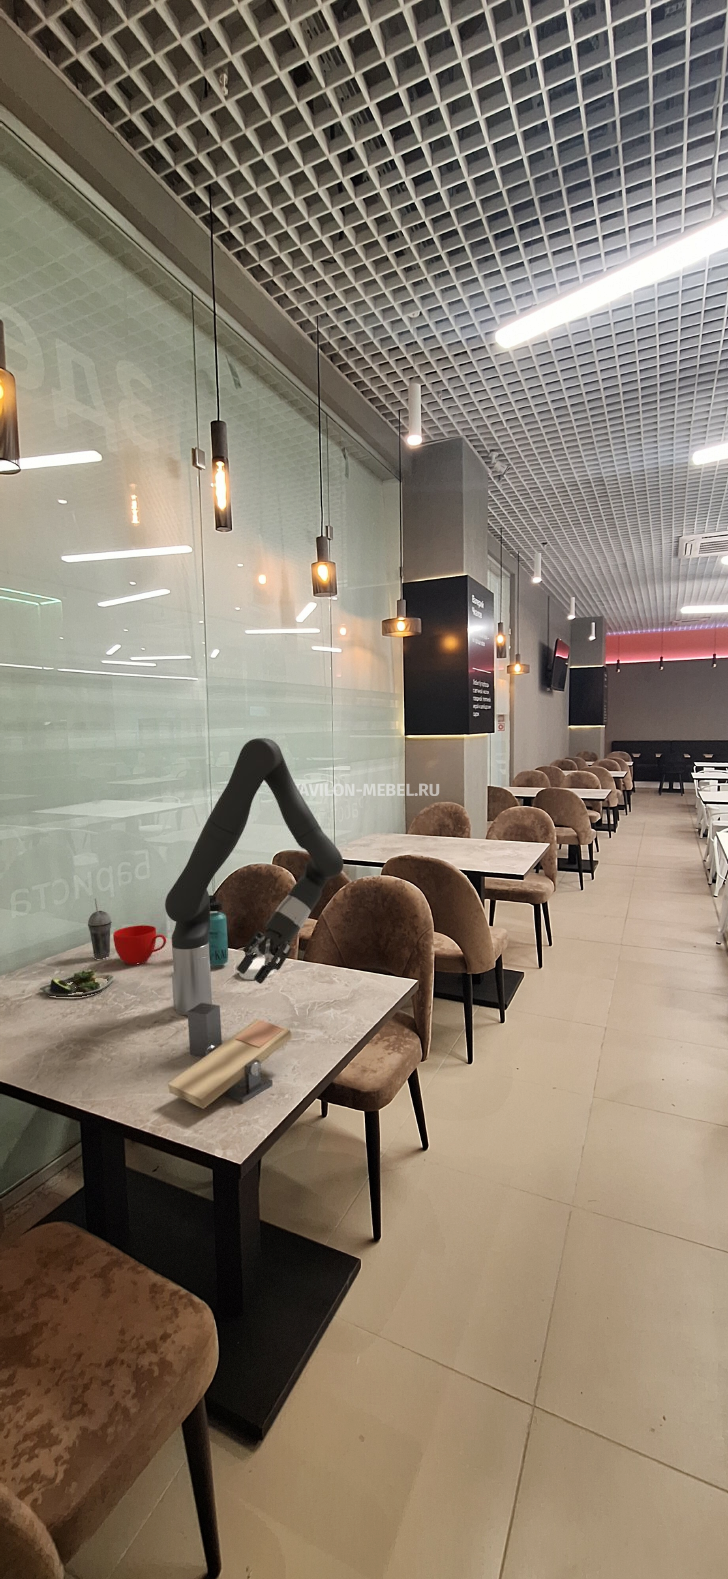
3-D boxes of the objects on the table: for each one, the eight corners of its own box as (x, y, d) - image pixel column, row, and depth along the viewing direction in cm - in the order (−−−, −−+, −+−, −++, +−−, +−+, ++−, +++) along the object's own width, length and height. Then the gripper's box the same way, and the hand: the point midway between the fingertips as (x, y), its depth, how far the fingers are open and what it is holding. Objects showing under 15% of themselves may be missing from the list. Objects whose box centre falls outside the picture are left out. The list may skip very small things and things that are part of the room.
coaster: (273, 967, 204) (272, 956, 204) (274, 978, 194) (274, 967, 194) (240, 970, 202) (239, 959, 202) (239, 982, 192) (239, 970, 192)
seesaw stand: (195, 1082, 136) (194, 1053, 135) (226, 1066, 142) (224, 1038, 142) (242, 1103, 127) (241, 1072, 127) (272, 1085, 134) (271, 1055, 133)
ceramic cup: (157, 969, 205) (155, 937, 204) (106, 968, 208) (104, 936, 207) (176, 955, 218) (174, 925, 217) (128, 954, 221) (126, 925, 220)
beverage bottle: (209, 963, 209) (205, 901, 207) (230, 962, 209) (227, 899, 208) (205, 971, 202) (202, 906, 201) (228, 969, 203) (224, 905, 201)
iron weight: (190, 1055, 148) (187, 1011, 147) (203, 1045, 153) (201, 1002, 152) (208, 1058, 146) (206, 1014, 145) (222, 1048, 151) (219, 1005, 150)
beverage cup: (118, 955, 220) (114, 895, 219) (103, 962, 214) (99, 901, 212) (100, 953, 223) (96, 894, 221) (85, 960, 216) (80, 900, 214)
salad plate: (74, 974, 204) (73, 959, 204) (127, 976, 201) (127, 961, 201) (32, 999, 185) (30, 982, 185) (90, 1001, 182) (89, 985, 182)
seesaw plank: (169, 1092, 129) (167, 1082, 128) (258, 1027, 147) (256, 1018, 146) (203, 1108, 122) (201, 1098, 122) (291, 1038, 141) (289, 1029, 140)
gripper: (263, 904, 165) (223, 960, 159) (294, 915, 154) (252, 976, 148) (283, 921, 169) (244, 977, 162) (314, 933, 157) (274, 993, 151)
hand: (248, 976), depth 155 cm, fingers open, 8 cm apart
